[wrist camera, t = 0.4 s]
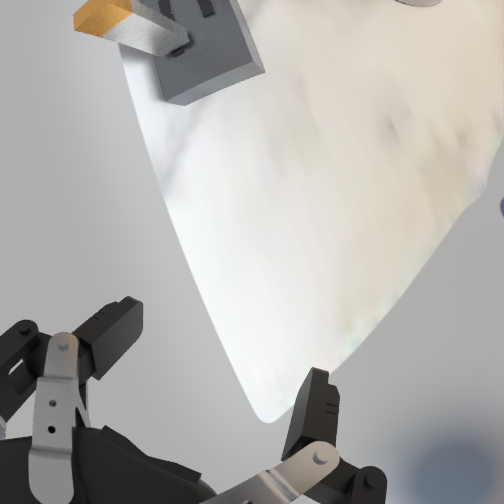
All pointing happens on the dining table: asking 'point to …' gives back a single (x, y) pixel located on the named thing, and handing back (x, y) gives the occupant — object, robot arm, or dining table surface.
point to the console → (205, 49)
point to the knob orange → (130, 25)
